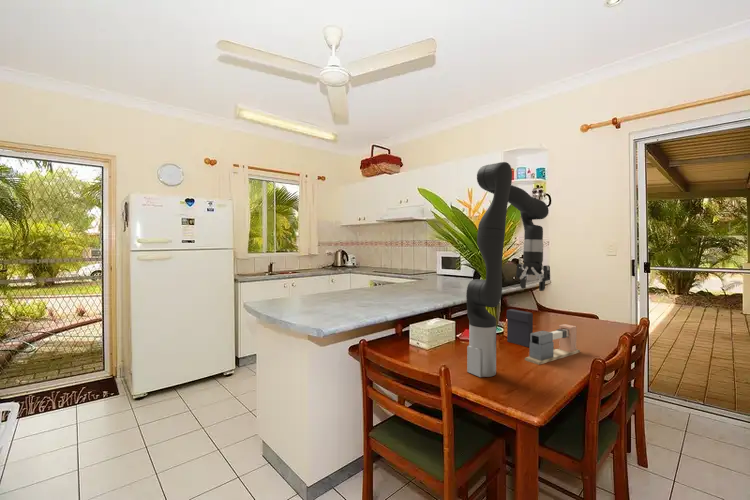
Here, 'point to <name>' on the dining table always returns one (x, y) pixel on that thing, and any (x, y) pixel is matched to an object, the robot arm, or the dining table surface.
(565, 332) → the slip tube
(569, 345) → the socket
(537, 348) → the sleeve
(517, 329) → the dark gray lidded box
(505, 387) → the dining table surface
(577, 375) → the dining table surface
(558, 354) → the base board
